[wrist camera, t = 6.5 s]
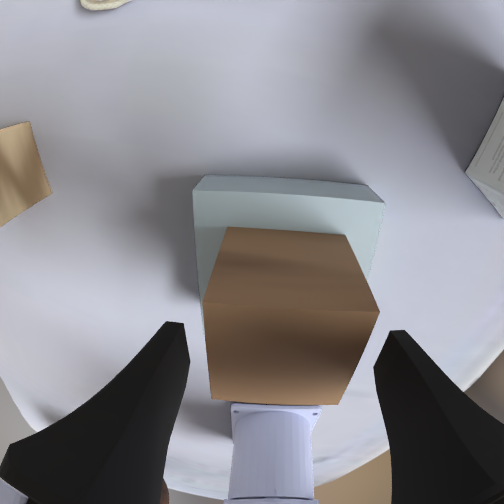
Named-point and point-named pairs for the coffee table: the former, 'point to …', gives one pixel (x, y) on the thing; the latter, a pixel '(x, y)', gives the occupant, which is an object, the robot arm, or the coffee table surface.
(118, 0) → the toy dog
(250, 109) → the coffee table surface
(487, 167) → the small box
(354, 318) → the walnut cube
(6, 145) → the oak cube
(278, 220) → the slab
